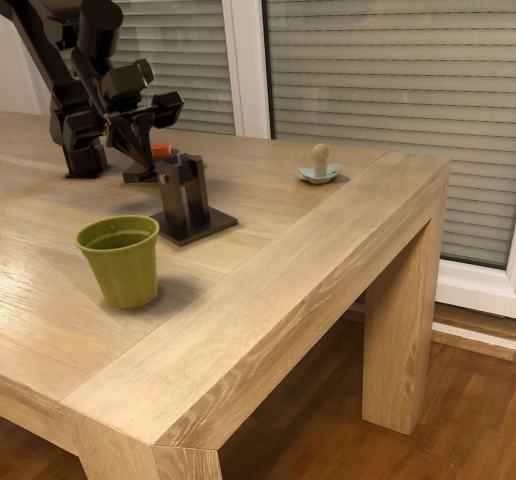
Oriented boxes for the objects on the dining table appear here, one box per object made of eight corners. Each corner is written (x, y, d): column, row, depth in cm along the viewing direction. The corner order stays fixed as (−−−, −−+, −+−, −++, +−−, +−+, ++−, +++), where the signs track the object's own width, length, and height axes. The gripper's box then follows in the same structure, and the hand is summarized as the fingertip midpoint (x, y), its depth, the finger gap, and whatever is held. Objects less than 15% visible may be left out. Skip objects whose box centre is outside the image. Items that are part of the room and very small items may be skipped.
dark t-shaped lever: (137, 187, 86) (132, 171, 85) (168, 176, 88) (163, 161, 87) (170, 187, 77) (165, 169, 76) (204, 176, 79) (199, 159, 78)
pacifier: (293, 177, 97) (302, 188, 92) (291, 139, 93) (300, 149, 88) (334, 171, 98) (345, 182, 93) (334, 133, 94) (345, 143, 89)
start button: (148, 159, 99) (146, 149, 98) (155, 152, 102) (153, 142, 101) (167, 159, 98) (166, 149, 97) (174, 152, 101) (172, 142, 100)
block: (124, 185, 100) (119, 162, 97) (142, 167, 107) (138, 146, 105) (189, 185, 97) (185, 162, 95) (203, 167, 104) (200, 145, 102)
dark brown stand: (141, 226, 85) (127, 161, 79) (197, 206, 89) (187, 143, 84) (180, 249, 78) (167, 180, 72) (238, 226, 82) (231, 159, 76)
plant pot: (99, 282, 72) (81, 218, 67) (173, 274, 72) (161, 210, 67) (87, 323, 64) (66, 255, 59) (170, 314, 64) (156, 245, 59)
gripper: (46, 53, 75) (102, 154, 74) (167, 30, 83) (219, 121, 82) (42, 107, 84) (92, 196, 84) (151, 82, 93) (197, 163, 92)
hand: (151, 168), depth 85 cm, fingers closed, pressing on dark t-shaped lever
